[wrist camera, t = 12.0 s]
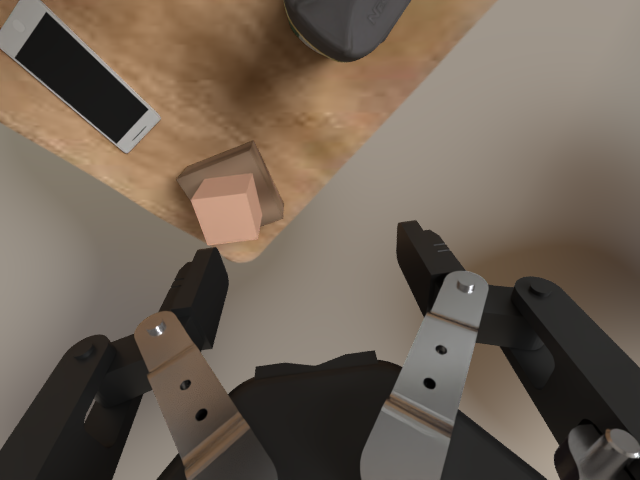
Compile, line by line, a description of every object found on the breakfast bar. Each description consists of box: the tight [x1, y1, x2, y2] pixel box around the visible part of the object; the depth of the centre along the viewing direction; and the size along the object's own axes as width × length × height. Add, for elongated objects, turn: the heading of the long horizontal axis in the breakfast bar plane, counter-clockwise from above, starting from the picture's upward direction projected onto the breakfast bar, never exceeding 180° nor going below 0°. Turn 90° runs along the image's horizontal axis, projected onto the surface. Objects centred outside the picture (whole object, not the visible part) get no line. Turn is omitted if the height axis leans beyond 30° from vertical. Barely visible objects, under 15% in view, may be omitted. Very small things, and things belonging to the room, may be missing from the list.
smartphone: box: [0, 0, 161, 153], centre depth 34 cm, size 7×16×1 cm, turn 38°
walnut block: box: [176, 140, 284, 227], centre depth 41 cm, size 10×10×5 cm
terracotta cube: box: [191, 173, 262, 245], centre depth 36 cm, size 6×6×6 cm
